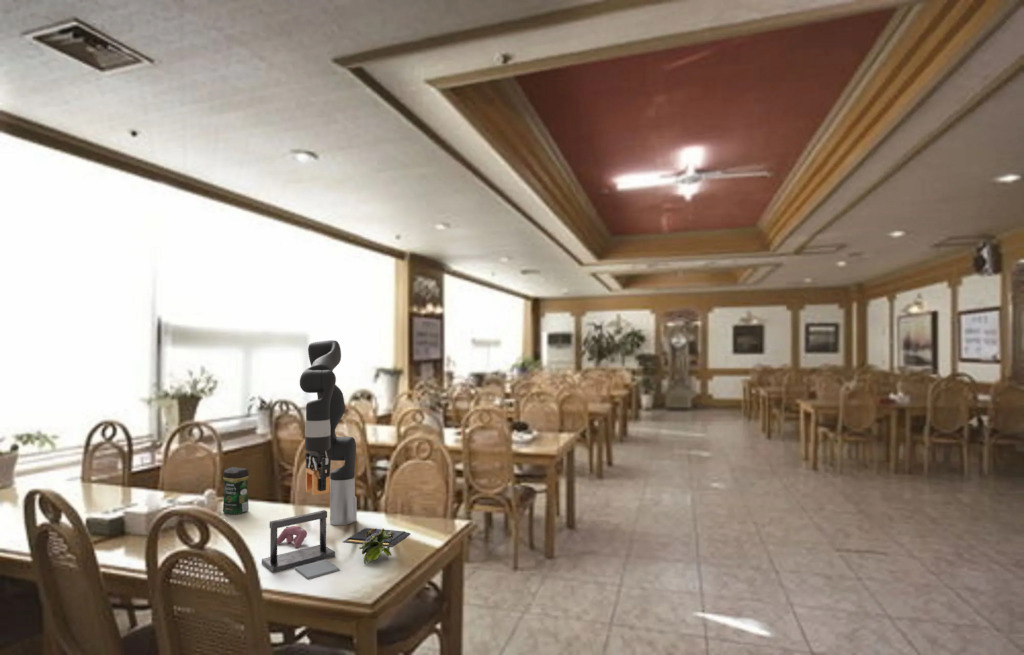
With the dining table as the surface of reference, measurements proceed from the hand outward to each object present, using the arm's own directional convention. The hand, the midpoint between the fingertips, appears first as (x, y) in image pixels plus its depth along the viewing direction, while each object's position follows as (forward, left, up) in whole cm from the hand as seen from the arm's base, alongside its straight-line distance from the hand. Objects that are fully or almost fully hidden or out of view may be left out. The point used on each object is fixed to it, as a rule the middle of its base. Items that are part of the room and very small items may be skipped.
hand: (317, 488), depth 177 cm
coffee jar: (0, -83, -25) cm, 87 cm away
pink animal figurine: (-3, -29, -25) cm, 38 cm away
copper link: (0, 0, -1) cm, 1 cm away
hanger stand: (+1, -12, -25) cm, 28 cm away
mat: (0, 0, -25) cm, 25 cm away
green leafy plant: (-19, +4, -25) cm, 32 cm away
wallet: (-28, -14, -26) cm, 41 cm away
